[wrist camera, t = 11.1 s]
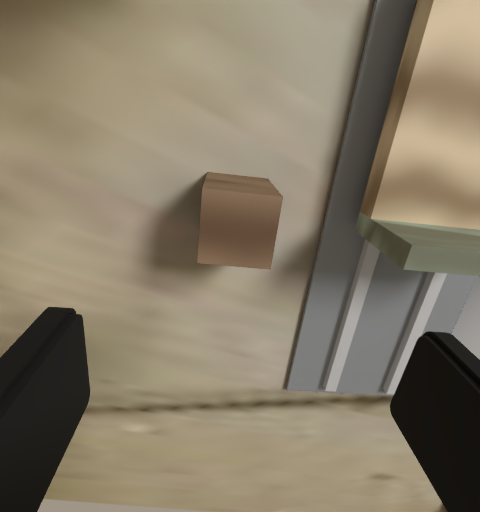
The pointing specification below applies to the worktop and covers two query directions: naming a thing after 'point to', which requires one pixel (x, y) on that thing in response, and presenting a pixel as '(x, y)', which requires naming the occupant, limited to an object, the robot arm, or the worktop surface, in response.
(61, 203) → the worktop surface
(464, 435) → the robot arm
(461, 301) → the rail track
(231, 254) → the walnut block
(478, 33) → the multicoloured piece
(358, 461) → the worktop surface
